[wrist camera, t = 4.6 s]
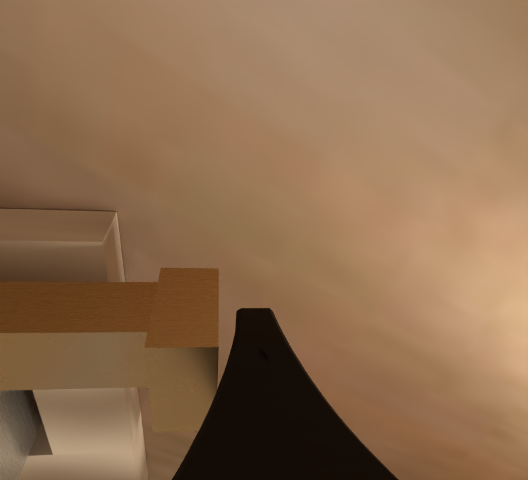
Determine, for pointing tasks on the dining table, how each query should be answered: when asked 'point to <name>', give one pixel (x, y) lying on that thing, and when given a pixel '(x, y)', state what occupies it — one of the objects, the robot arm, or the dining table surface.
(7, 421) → the peg
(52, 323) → the tan headed bar
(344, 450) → the robot arm
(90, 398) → the socket block
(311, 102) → the dining table surface
